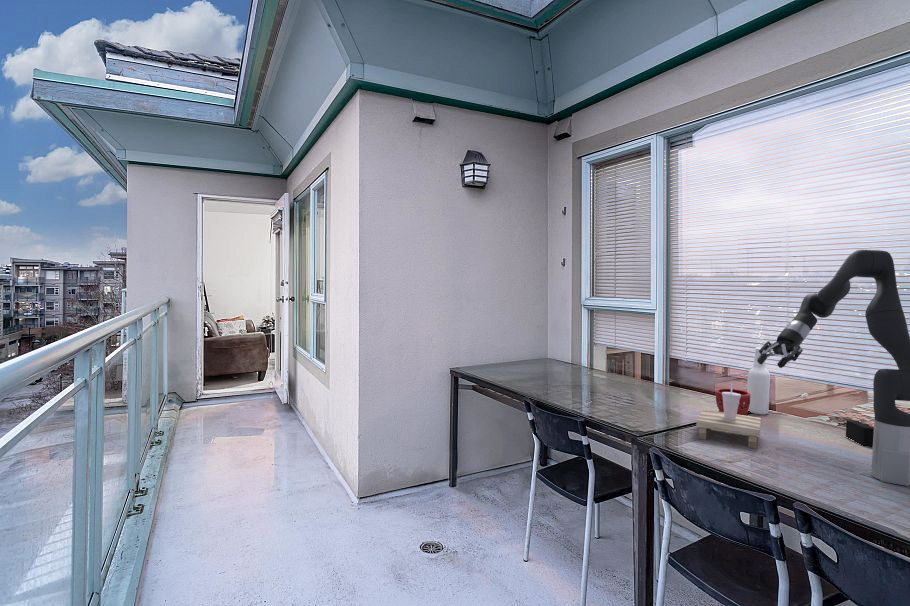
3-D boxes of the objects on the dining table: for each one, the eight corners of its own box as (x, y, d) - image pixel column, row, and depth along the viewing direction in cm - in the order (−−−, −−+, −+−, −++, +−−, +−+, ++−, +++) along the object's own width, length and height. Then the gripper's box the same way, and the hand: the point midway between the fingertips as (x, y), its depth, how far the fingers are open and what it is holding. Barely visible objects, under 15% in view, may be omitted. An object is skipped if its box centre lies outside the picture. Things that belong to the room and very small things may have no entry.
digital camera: (880, 447, 176) (881, 428, 176) (863, 446, 177) (864, 427, 176) (861, 439, 186) (862, 421, 186) (845, 438, 187) (846, 420, 187)
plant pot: (715, 412, 221) (716, 386, 220) (749, 417, 214) (750, 390, 214) (714, 419, 210) (715, 391, 209) (749, 424, 203) (750, 395, 202)
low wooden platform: (758, 449, 170) (759, 429, 170) (695, 438, 181) (696, 420, 181) (760, 435, 187) (761, 417, 186) (702, 426, 198) (703, 409, 197)
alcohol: (750, 408, 230) (753, 346, 229) (771, 413, 223) (774, 348, 222) (743, 411, 224) (746, 347, 223) (764, 415, 217) (767, 349, 216)
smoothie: (720, 419, 182) (722, 382, 182) (720, 415, 188) (722, 380, 188) (740, 421, 179) (742, 384, 179) (739, 418, 185) (741, 382, 184)
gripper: (772, 326, 193) (747, 355, 190) (806, 329, 179) (781, 360, 176) (781, 339, 194) (757, 368, 192) (816, 343, 181) (791, 374, 178)
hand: (769, 364), depth 184 cm, fingers open, 8 cm apart
